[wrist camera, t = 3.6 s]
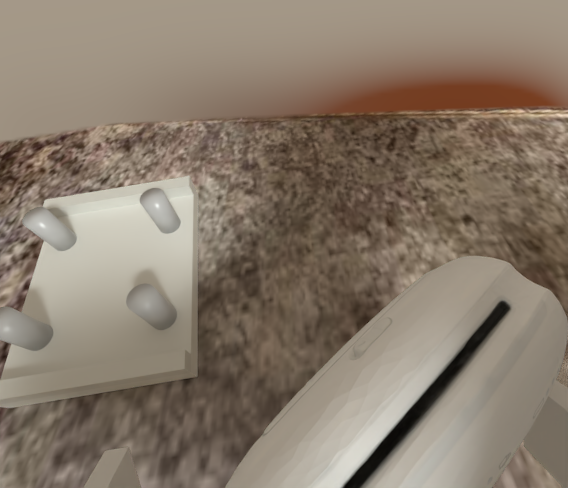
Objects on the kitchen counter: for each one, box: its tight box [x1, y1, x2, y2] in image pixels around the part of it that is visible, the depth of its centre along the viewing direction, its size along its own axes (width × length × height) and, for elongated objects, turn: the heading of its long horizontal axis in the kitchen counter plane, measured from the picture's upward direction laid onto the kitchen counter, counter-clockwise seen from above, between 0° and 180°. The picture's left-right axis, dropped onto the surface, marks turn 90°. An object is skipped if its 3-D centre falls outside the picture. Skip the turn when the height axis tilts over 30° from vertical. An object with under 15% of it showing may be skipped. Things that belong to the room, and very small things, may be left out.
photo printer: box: [225, 256, 568, 488], centre depth 11 cm, size 10×4×12 cm, turn 131°
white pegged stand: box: [0, 176, 198, 408], centre depth 21 cm, size 14×11×4 cm
